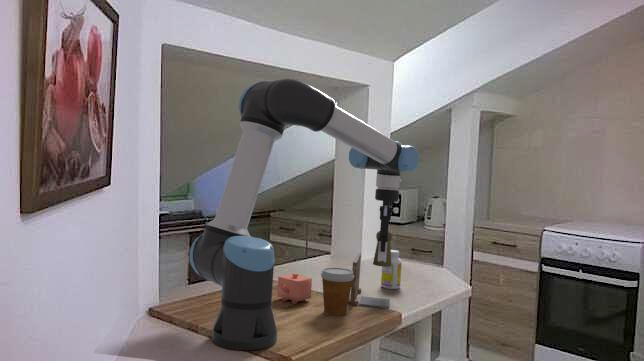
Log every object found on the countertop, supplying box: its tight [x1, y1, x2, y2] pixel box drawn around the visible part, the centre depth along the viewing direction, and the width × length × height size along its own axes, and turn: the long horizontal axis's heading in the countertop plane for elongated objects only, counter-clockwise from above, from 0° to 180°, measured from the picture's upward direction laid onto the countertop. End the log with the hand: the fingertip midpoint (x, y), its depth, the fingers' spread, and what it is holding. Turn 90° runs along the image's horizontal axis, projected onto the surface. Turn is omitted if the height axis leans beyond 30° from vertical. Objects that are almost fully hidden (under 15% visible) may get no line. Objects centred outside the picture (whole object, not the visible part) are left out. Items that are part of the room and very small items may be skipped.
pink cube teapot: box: [276, 272, 313, 305], centre depth 159 cm, size 8×12×8 cm, turn 143°
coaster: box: [358, 295, 390, 309], centre depth 162 cm, size 9×9×1 cm
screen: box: [348, 252, 362, 307], centre depth 166 cm, size 3×18×13 cm, turn 172°
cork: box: [372, 230, 393, 267], centre depth 170 cm, size 6×6×11 cm
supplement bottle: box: [380, 249, 403, 290], centre depth 184 cm, size 7×7×13 cm
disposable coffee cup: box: [320, 267, 354, 317], centre depth 149 cm, size 10×10×12 cm
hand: (382, 259), depth 171 cm, fingers open, 5 cm apart
